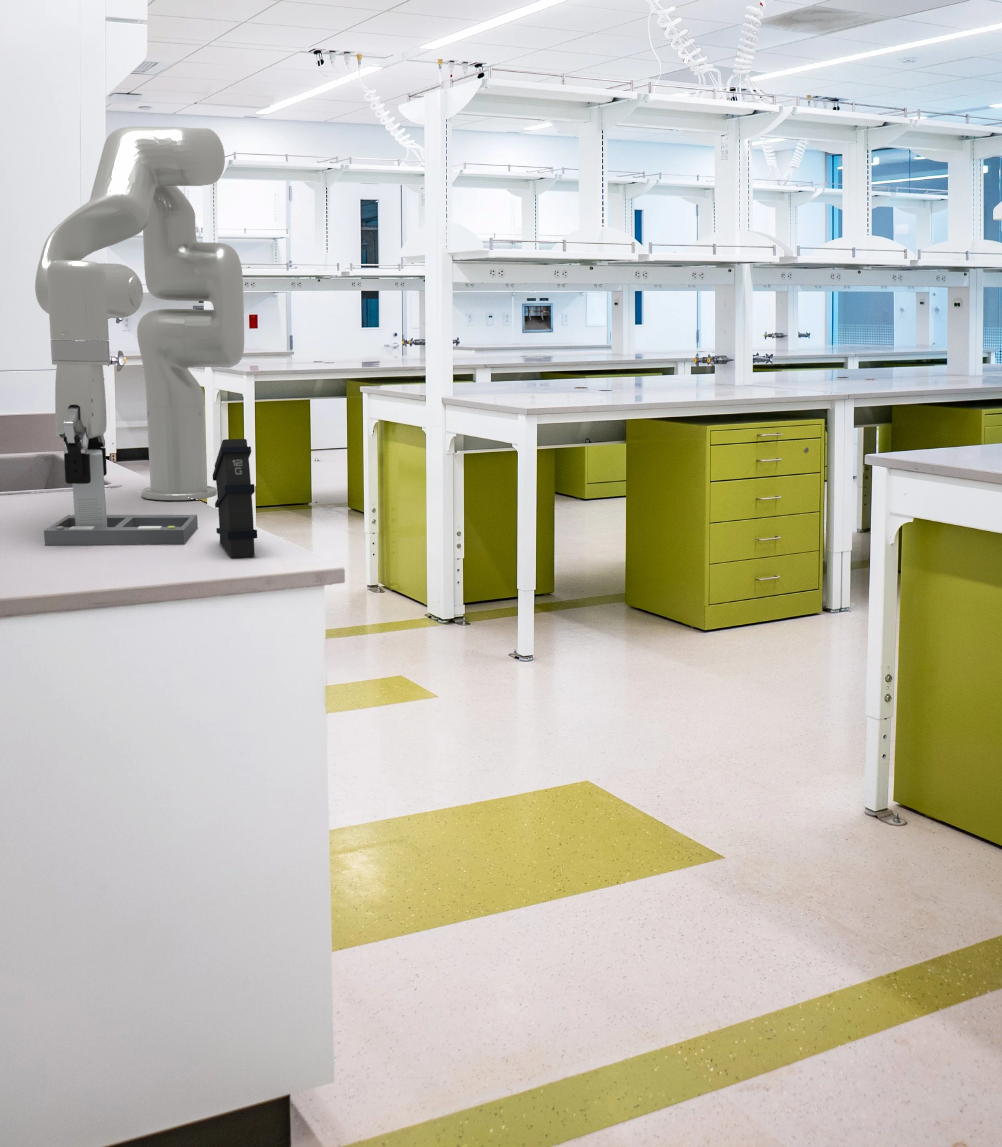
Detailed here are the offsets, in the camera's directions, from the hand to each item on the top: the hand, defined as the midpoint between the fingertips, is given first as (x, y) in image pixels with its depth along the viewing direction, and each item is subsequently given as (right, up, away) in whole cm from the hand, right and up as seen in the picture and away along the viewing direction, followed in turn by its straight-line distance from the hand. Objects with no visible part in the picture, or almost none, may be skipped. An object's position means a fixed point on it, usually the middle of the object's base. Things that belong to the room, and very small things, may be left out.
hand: (86, 479), depth 165 cm
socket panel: (+4, -8, +3) cm, 9 cm away
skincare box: (0, -8, +2) cm, 8 cm away
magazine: (+22, -10, -5) cm, 25 cm away
